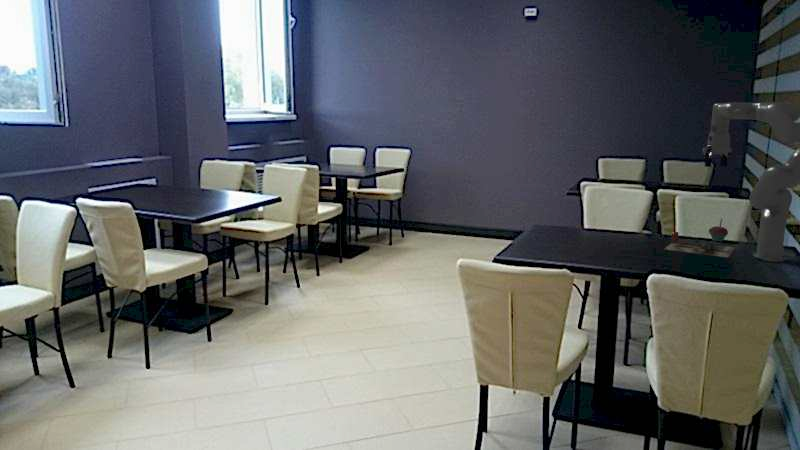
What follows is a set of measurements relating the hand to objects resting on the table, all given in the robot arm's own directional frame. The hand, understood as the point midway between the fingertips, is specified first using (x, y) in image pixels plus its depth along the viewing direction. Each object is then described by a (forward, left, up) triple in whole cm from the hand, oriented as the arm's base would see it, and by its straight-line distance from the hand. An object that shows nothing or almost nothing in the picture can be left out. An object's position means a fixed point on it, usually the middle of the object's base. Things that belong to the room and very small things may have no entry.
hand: (715, 166), depth 286 cm
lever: (+1, +20, -36) cm, 41 cm away
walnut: (-3, +28, -36) cm, 46 cm away
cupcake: (-3, -10, -38) cm, 39 cm away
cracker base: (0, +20, -37) cm, 43 cm away
